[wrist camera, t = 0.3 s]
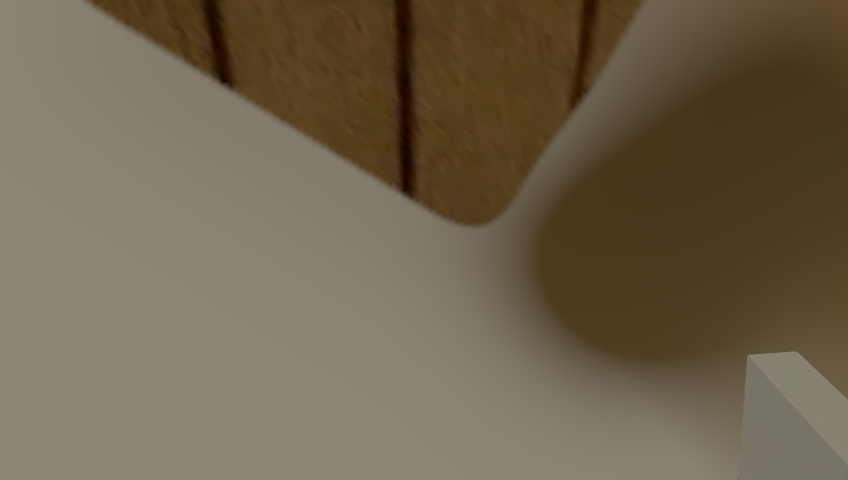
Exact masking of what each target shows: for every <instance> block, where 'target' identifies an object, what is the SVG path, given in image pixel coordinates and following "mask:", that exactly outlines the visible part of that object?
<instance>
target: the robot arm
mask: <svg viewBox="0 0 848 480" xmlns="http://www.w3.org/2000/svg"><path fill="white" fill-rule="evenodd" d="M738 480H848V400H847V399H846V398H845V397H844V396H843V395H842V394H841V393H840V392H839V391H838V390H837V389H836V388H835V387H833V386H832V385H831V384H830V383H829V382H828V381H827V380H826V379H825V378H824V377H823V376H822V375H821V374H820V373H819V372H818V371H817V370H815V369H814V368H813V367H812V366H811V365H810V364H809V363H808V362H807V361H806V360H805V359H804V358H803V357H802V356H801V355H800V354H799V353H798V352H784V353H772V354H758V355H748V358H747V370H746V383H745V397H744V410H743V424H742V438H741V451H740V464H739V478H738Z"/></svg>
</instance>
